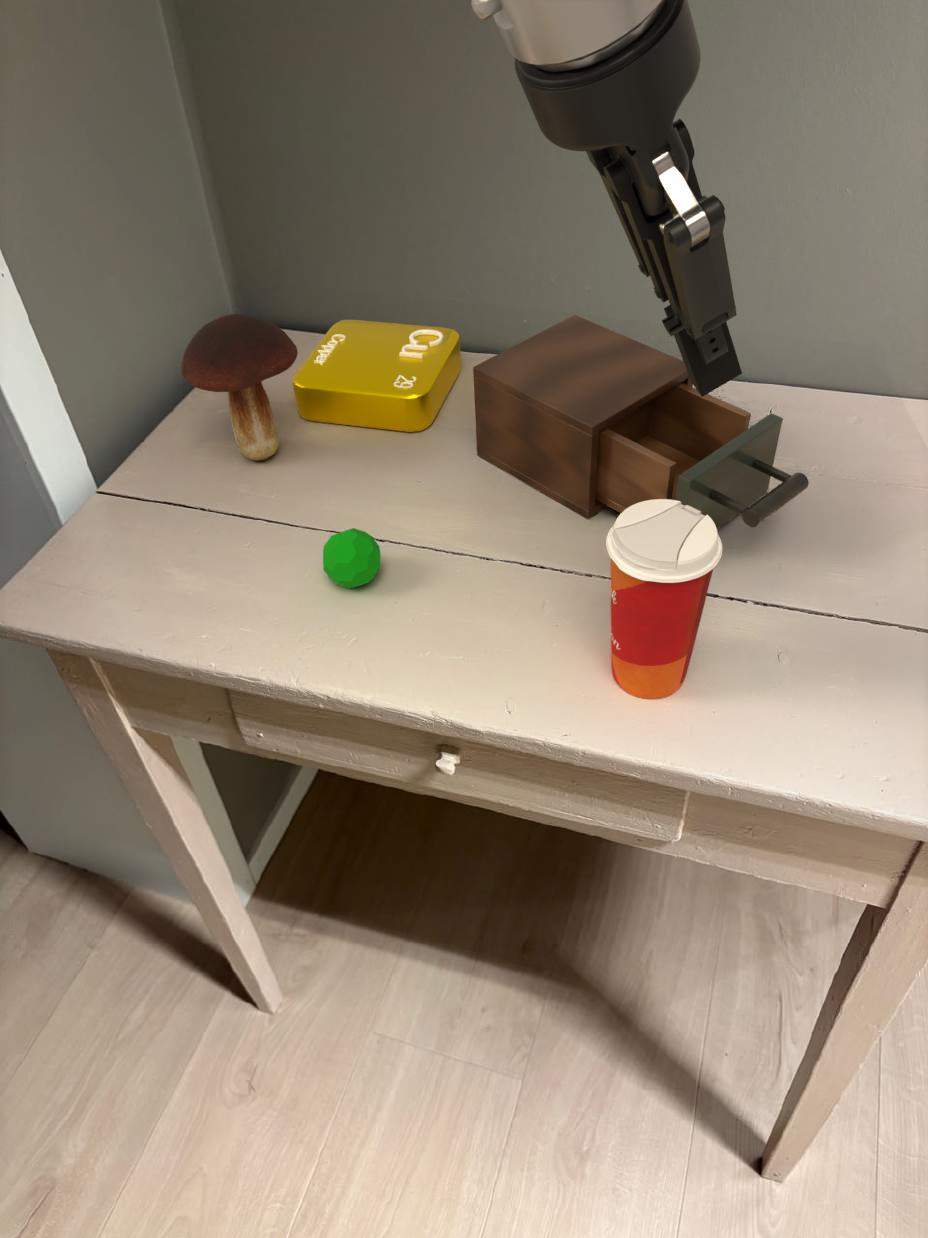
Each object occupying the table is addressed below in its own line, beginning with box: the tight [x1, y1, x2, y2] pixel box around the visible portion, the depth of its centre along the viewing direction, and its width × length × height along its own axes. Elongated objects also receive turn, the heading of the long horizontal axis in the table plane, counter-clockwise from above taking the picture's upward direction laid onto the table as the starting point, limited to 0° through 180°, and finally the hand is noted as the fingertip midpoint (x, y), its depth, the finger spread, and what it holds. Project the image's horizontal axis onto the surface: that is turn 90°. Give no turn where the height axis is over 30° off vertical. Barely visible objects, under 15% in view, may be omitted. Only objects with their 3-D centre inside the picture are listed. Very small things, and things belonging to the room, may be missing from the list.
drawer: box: [595, 382, 810, 531], centre depth 84 cm, size 19×13×8 cm
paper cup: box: [605, 499, 723, 700], centre depth 68 cm, size 8×8×14 cm
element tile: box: [291, 319, 462, 433], centre depth 103 cm, size 15×15×5 cm
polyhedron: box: [322, 527, 381, 589], centre depth 81 cm, size 5×5×5 cm
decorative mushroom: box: [180, 313, 299, 462], centre depth 92 cm, size 11×11×15 cm
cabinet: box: [472, 314, 694, 520], centre depth 91 cm, size 15×14×10 cm
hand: (716, 377), depth 59 cm, fingers closed
